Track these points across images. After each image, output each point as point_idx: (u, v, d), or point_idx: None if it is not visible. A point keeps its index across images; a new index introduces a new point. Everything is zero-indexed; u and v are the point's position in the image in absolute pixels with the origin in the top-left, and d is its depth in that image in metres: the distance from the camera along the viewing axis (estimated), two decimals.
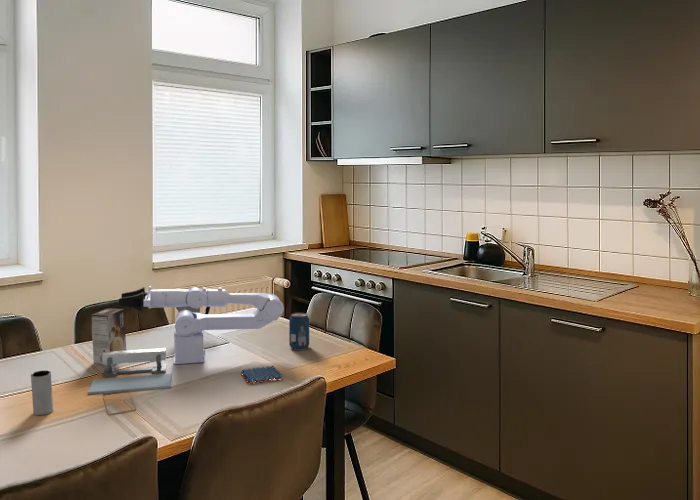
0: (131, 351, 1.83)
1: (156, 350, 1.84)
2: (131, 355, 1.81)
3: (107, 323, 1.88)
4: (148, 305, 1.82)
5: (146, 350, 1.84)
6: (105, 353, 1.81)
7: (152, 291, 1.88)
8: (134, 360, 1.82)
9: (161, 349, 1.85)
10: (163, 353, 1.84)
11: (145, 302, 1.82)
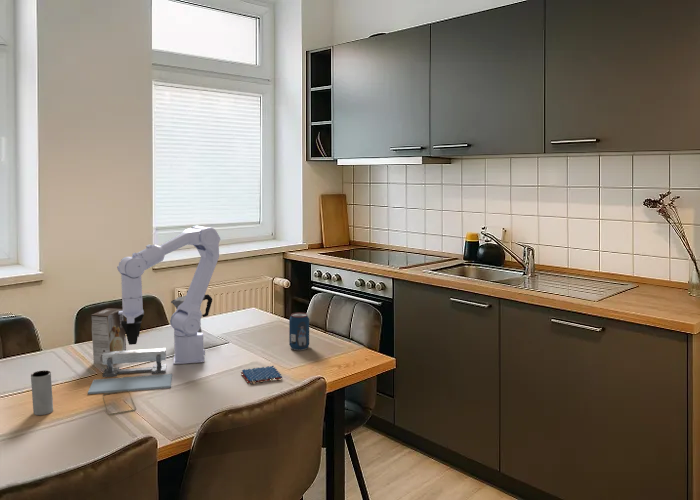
0: (131, 351, 1.83)
1: (156, 350, 1.84)
2: (131, 355, 1.81)
3: (107, 323, 1.88)
4: (132, 318, 1.74)
5: (146, 350, 1.84)
6: (105, 353, 1.81)
7: (123, 310, 1.79)
8: (134, 360, 1.82)
9: (161, 349, 1.85)
10: (163, 353, 1.84)
11: (129, 321, 1.74)
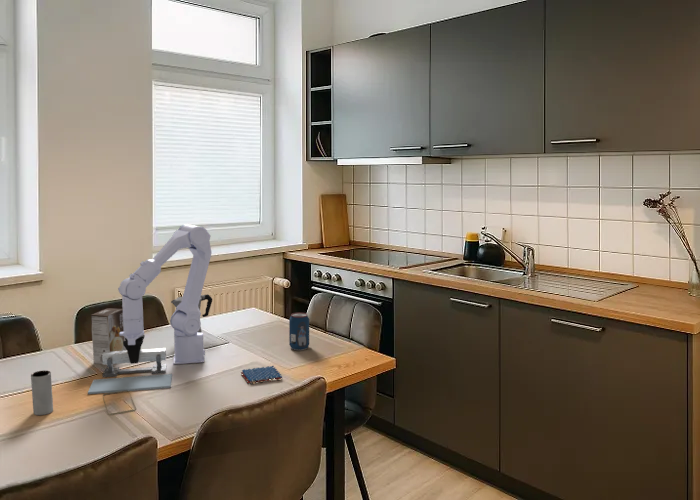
0: None
1: (156, 350, 1.84)
2: None
3: (107, 323, 1.88)
4: (133, 340, 1.75)
5: (146, 350, 1.84)
6: (105, 353, 1.81)
7: (124, 332, 1.80)
8: None
9: (161, 349, 1.85)
10: (163, 353, 1.84)
11: (130, 343, 1.75)
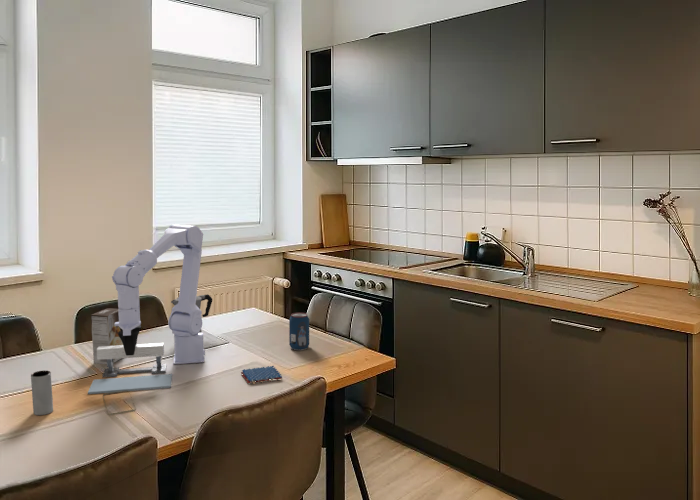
0: None
1: (153, 345, 1.74)
2: None
3: (107, 323, 1.88)
4: (129, 330, 1.66)
5: (143, 344, 1.75)
6: (100, 348, 1.71)
7: (119, 322, 1.71)
8: (130, 355, 1.72)
9: (159, 344, 1.75)
10: (160, 348, 1.74)
11: (125, 333, 1.66)
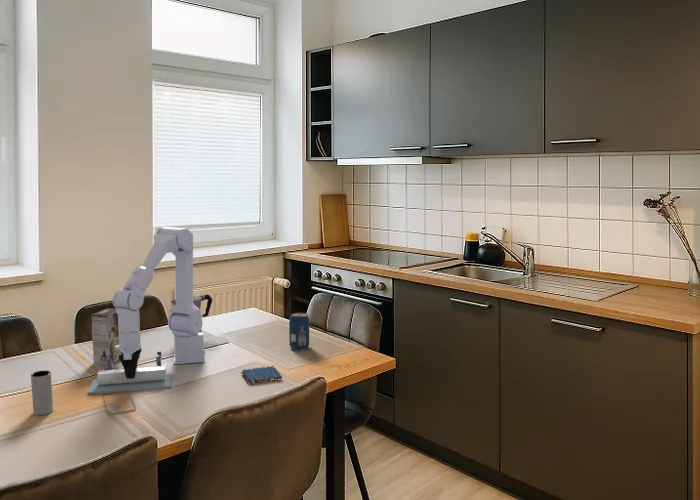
0: None
1: (154, 369, 1.74)
2: None
3: (107, 323, 1.88)
4: (129, 354, 1.65)
5: (144, 368, 1.74)
6: (100, 372, 1.70)
7: (120, 345, 1.70)
8: (131, 380, 1.71)
9: (160, 368, 1.75)
10: (161, 372, 1.73)
11: (126, 357, 1.65)
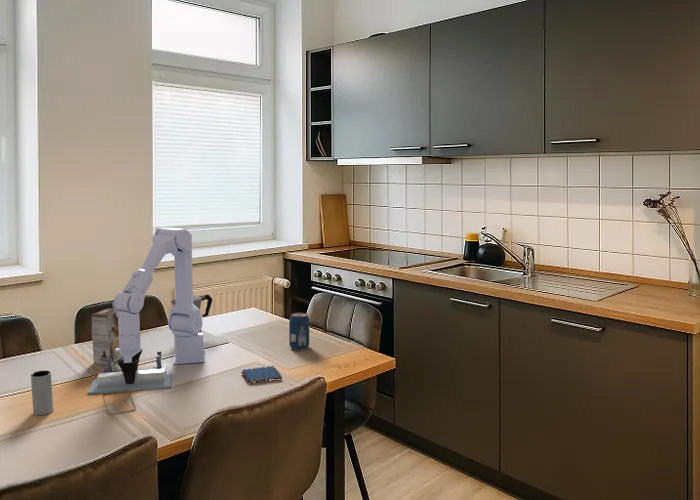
0: None
1: (154, 371, 1.74)
2: None
3: (107, 323, 1.88)
4: (129, 357, 1.65)
5: (144, 371, 1.74)
6: (100, 375, 1.70)
7: (120, 348, 1.70)
8: None
9: (160, 370, 1.75)
10: (161, 374, 1.73)
11: (126, 360, 1.65)
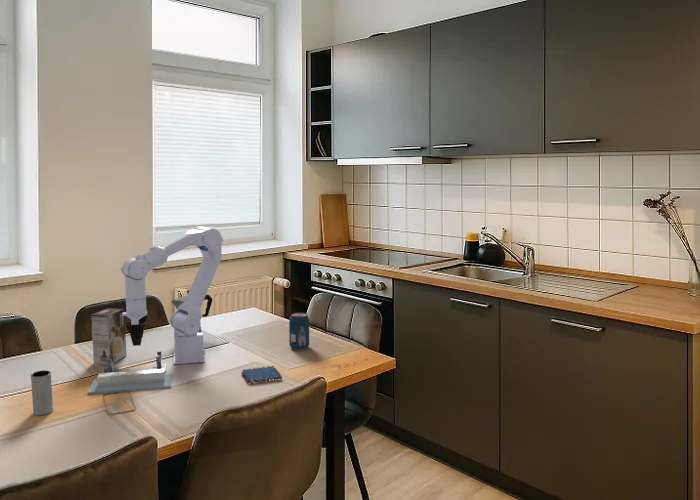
0: (128, 372, 1.73)
1: (154, 371, 1.74)
2: (128, 376, 1.71)
3: (107, 323, 1.88)
4: (136, 319, 1.75)
5: (144, 371, 1.74)
6: (100, 375, 1.70)
7: (127, 312, 1.80)
8: (131, 382, 1.72)
9: (160, 370, 1.75)
10: (161, 374, 1.73)
11: (133, 322, 1.75)
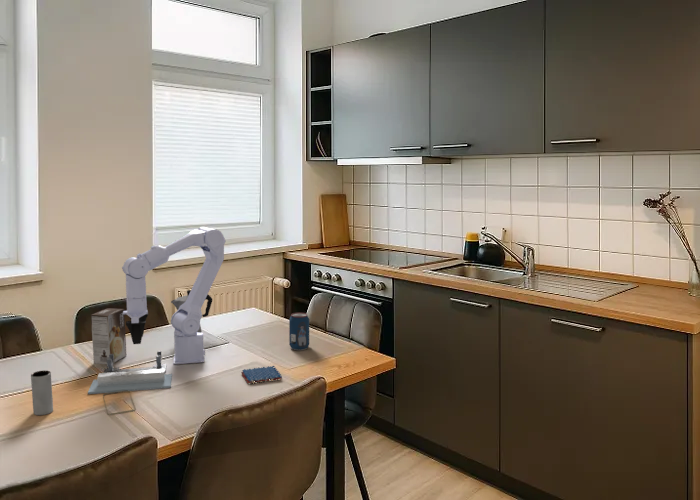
0: (128, 372, 1.73)
1: (154, 371, 1.74)
2: (128, 376, 1.71)
3: (107, 323, 1.88)
4: (137, 318, 1.76)
5: (144, 371, 1.74)
6: (100, 375, 1.70)
7: (127, 311, 1.81)
8: (131, 382, 1.72)
9: (160, 370, 1.75)
10: (161, 374, 1.73)
11: (133, 321, 1.76)
